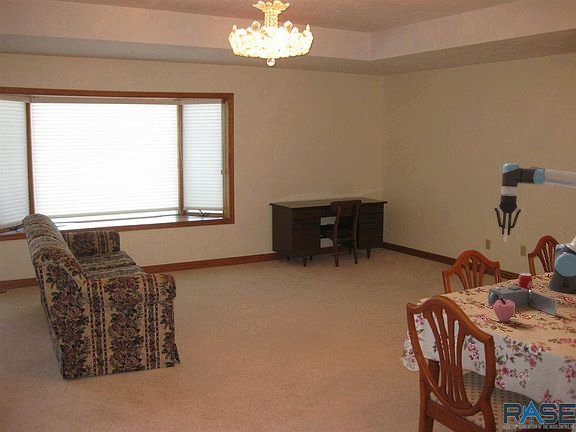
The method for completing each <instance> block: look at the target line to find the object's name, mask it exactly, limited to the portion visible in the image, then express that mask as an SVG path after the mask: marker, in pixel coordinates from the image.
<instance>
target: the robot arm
mask: <svg viewBox="0 0 576 432" xmlns="http://www.w3.org/2000/svg"><path fill="white" fill-rule="evenodd" d="M501 175H502V176H501V177H502V178H501V189H500V190H501V191H500V193H501V195H500V203H499V204H498V206H496V207H494V211H495V214H496V219H497V224H498V227H499V228H501V235H503V242H504V243H507V242H508V239H509V237H508V236H510V235H511V229H515V227H516V224H517V221H518V217H519V215H520V214H521V212H522V209H521V208H519V207H518V205H517V202H518V201H517V199H518V196H517V195H518V189H519V188H518V187H519V184H528V185H544V184H545V185H552V186H559V187H567V188H573V189H576V172H574V171H566V170H559V169H551V168H543V167H537V166H529V167H528V168H525V167H524V168H523V167H520V164H519V163H510V162H509V163H504V164H503V166H502V173H501ZM500 210H501V212H502V219H501V213H500ZM514 212H515V216H514V218H513V222H512V217H513V215H512V214H513V213H514ZM507 214H508V217H507ZM507 219H508V220H507ZM506 223H507V227H506ZM553 263H554V264H553V265H554V266H553V274H552V275H551V278H550V280H549V281H548V282H549V283H548V288H549V289H550V290H552V291H556V292H559V293H565V294H576V235H575V236H574V238H573V239H572V241H571V242H568V243H565V244H561V243H560V244H556V245H555V253H554V262H553Z"/></svg>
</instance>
